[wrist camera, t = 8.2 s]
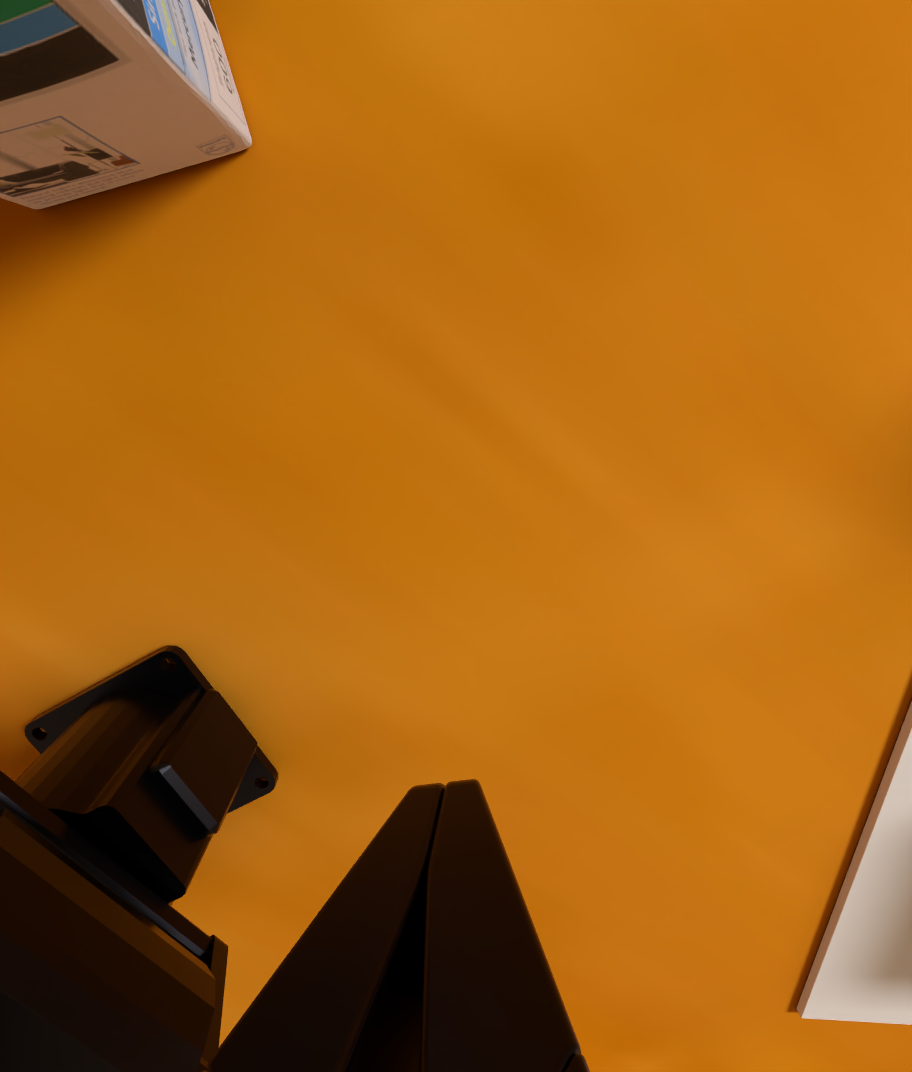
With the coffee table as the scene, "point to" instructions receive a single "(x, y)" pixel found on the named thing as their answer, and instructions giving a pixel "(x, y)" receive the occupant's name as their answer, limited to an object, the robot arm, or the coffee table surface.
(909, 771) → the white board
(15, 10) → the light bulb box
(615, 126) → the coffee table surface
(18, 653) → the coffee table surface
